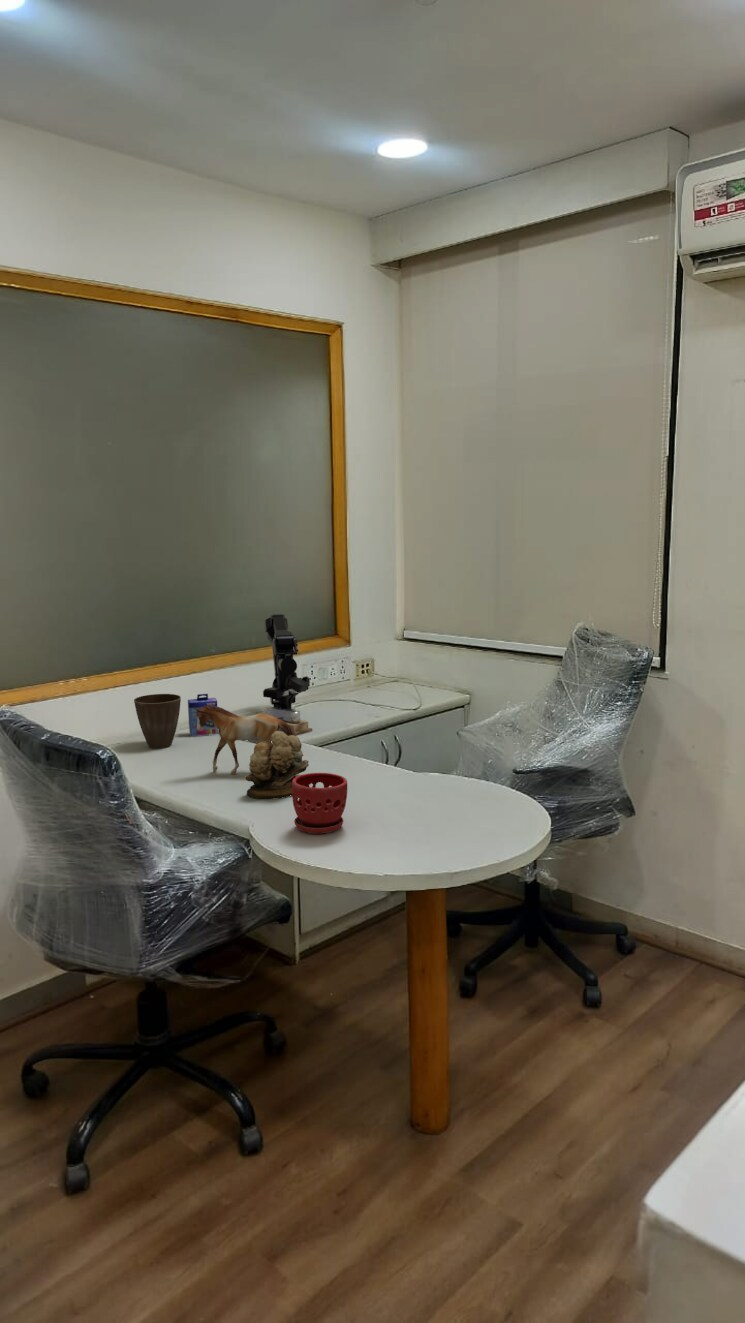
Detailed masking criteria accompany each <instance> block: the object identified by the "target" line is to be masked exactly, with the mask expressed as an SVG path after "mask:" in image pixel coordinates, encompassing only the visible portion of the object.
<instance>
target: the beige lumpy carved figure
mask: <svg viewBox="0 0 745 1323" xmlns="http://www.w3.org/2000/svg"><path fill="white" fill-rule="evenodd" d="M271 741H272V744H273V748H272V749H271V747H270V746H269V745H268V744H266V743H263V742H260V743H258V744H257V743H255V745H254V747H253V753H252V754H251V755H250V759H249V764H248V765H249V767H248V769H249V771H250V773H247V774H245V778H244V779H245V780H246V781H247V782H252V783H253V785H251V786H250V787H249V788H248V789H247V791H246V795H247V797H249V798H251V799H253V800H274V799H273V798H278V799H283V798H282V797H285V798H287V797H286V796H290V795H292V781H293V779H294V778H295V777H297V776H298V775H299V774H301V773H304V772H306V771H307V768H308V767H309V765H310V764H309V760H308V759H303V756H302V754H303V751H302V742H301V740H300V738H299V737H298V735H297V736H294V735H290V736H287V735H286V734H285V733H284V732H281V731H276V732H274V733H273V734H272V736H271ZM303 755H304V754H303ZM302 786H305V785H302ZM290 797H291V796H290Z"/></svg>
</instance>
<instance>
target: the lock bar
mask: <svg viewBox="0 0 745 1323" xmlns="http://www.w3.org/2000/svg"><path fill="white" fill-rule="evenodd" d="M265 714H268V715H271V716H273V717H275V718H278V717H283V720H285V721H291V722H293V723H297V722H300V720H301V711H300V710H293V709H292V710H288V709H283V708H277V707H273V706H270V705H269V706H268V705H267V706H266V707H265Z"/></svg>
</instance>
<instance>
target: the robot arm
mask: <svg viewBox="0 0 745 1323" xmlns="http://www.w3.org/2000/svg"><path fill="white" fill-rule="evenodd" d="M288 623H289V622H288V618H286V617H285V614H282V613H281V614H280V613H278V614H271V615H270V617H269V618H266V619H265V620H264V625H263V630H264V633H265V634H266V638H267V639H268V640H267V641H269V642H270V644H271V647H272V659H273V668H274V679H273V681H272V685H271V686H272V687H268V688H264V689H263V690H262V696H263V697H264V698H269V700H270V701H269V702H270V704H271V705H272V707H277V708H283V709H288V710H293V709H292V704H295V703H296V697H297V695H299V694H301V693H304V692H306V691H308V690H309V687H310V686H311V684H310V683H311V682H310V680H311V679H310V677H309V676H302V677H298V674H297V672H296V671H297V669H298V664H297V661H296V660H295V659H294V655H298V653H299V645H298V641H297V638H296V637H295V636H294V634H293V632H292V631H290V630H289V624H288Z"/></svg>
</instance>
